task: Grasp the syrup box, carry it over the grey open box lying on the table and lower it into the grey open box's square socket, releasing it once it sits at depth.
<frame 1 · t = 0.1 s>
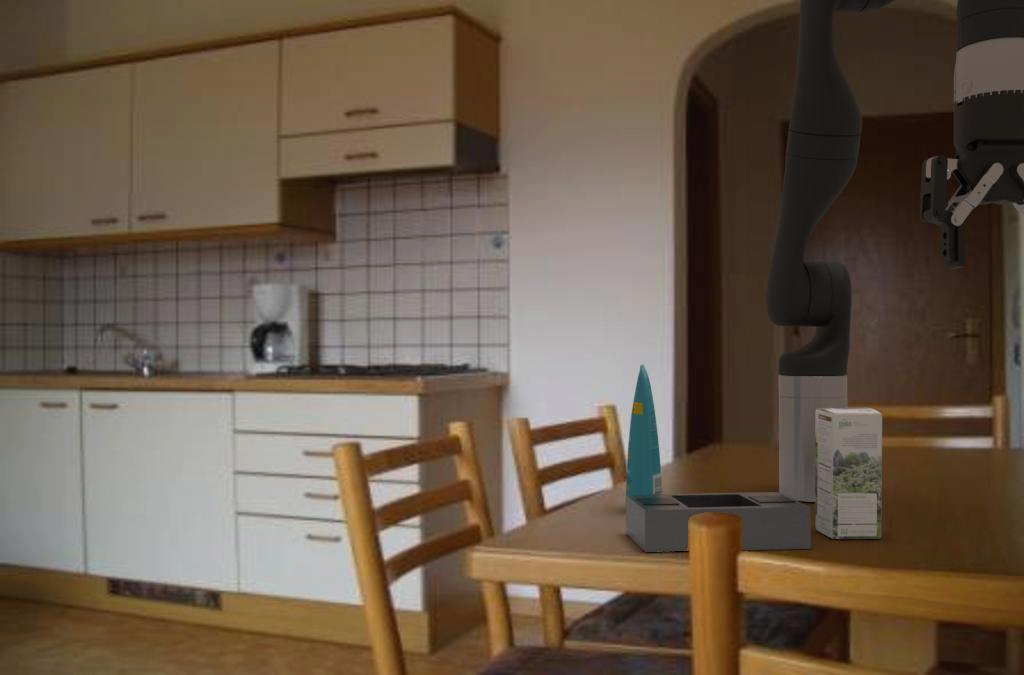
hand: (998, 267, 92), 29 cm above the table, fingers open, 8 cm apart
syrup box: (848, 536, 111), on the table
tube: (643, 513, 127), on the table
grey open box: (714, 541, 108), on the table
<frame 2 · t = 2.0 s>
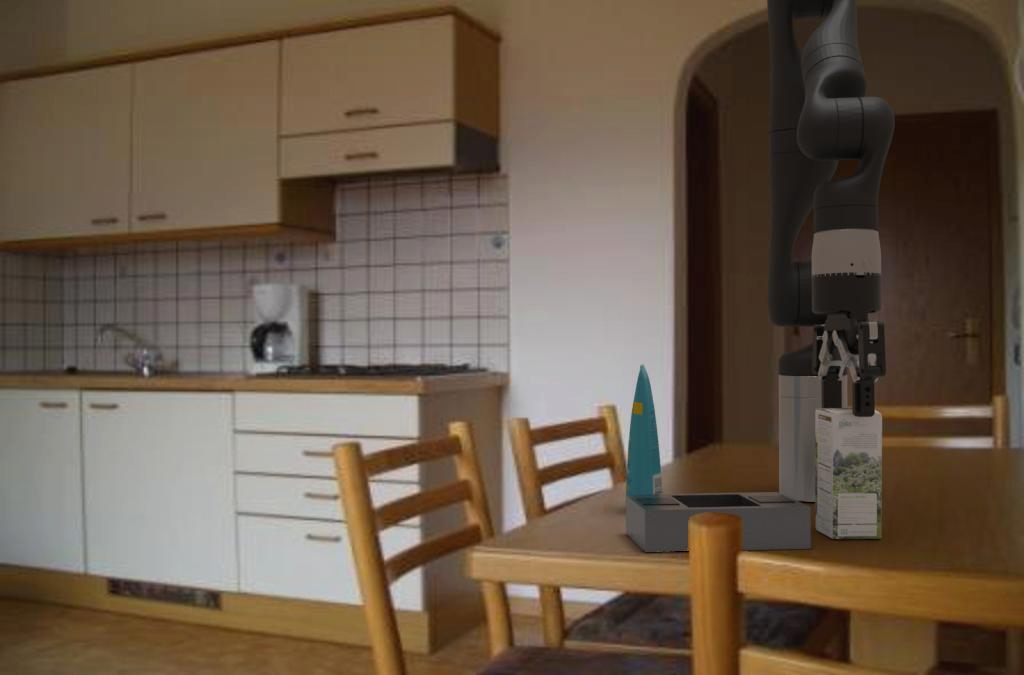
hand: (847, 414, 111), 14 cm above the table, fingers open, 8 cm apart
nothing on the table moved.
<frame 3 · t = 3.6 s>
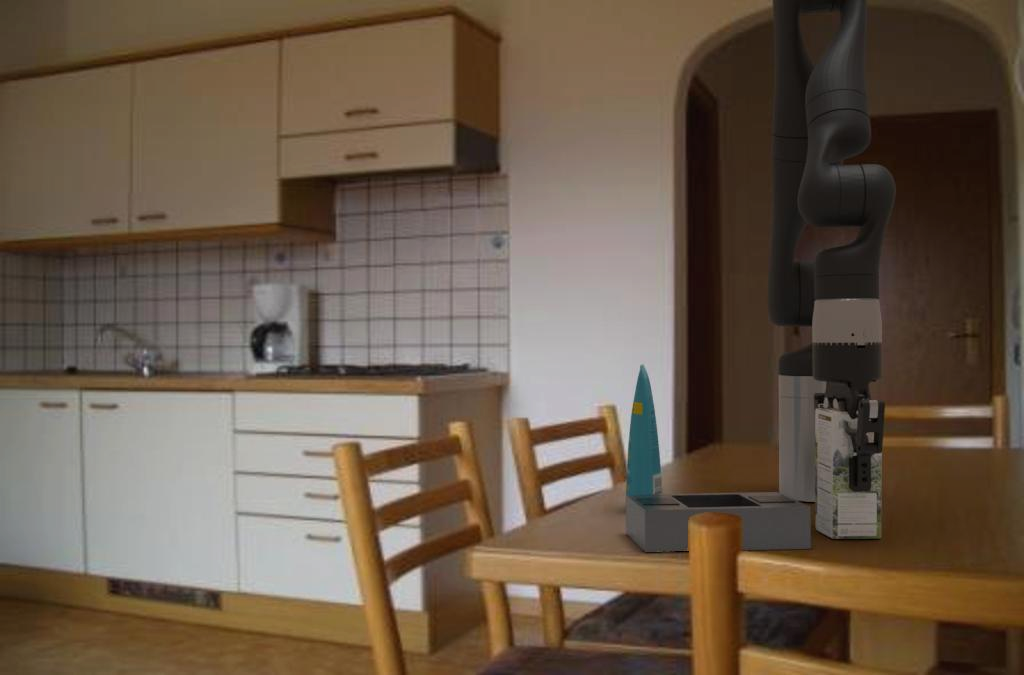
hand: (847, 486, 111), 6 cm above the table, fingers closed on syrup box, 6 cm apart
syrup box: (847, 536, 111), on the table, touching gripper
everything else where it was.
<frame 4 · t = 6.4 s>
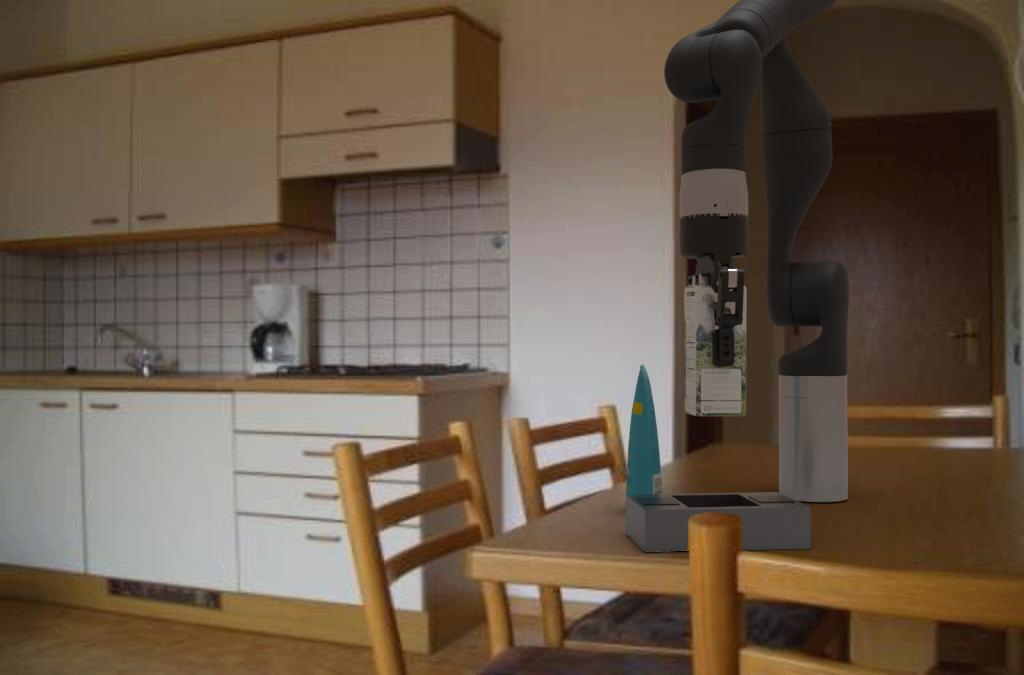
hand: (714, 364, 109), 20 cm above the table, fingers closed on syrup box, 6 cm apart
syrup box: (715, 416, 109), point 14 cm above the table, touching gripper
everything else where it was.
when the fingers open (7 cm above the table, at t = 9.0 s): syrup box drops 1 cm, resting in grey open box.
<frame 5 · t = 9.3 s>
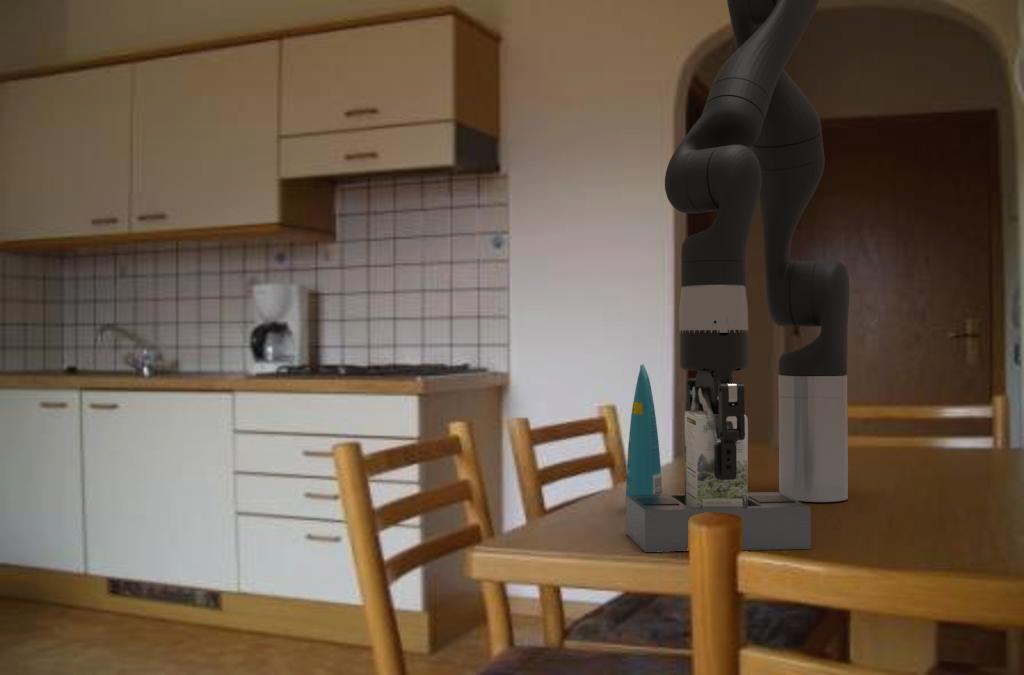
hand: (714, 473, 108), 8 cm above the table, fingers open, 8 cm apart
syrup box: (716, 542, 108), resting in grey open box
everything else where it was.
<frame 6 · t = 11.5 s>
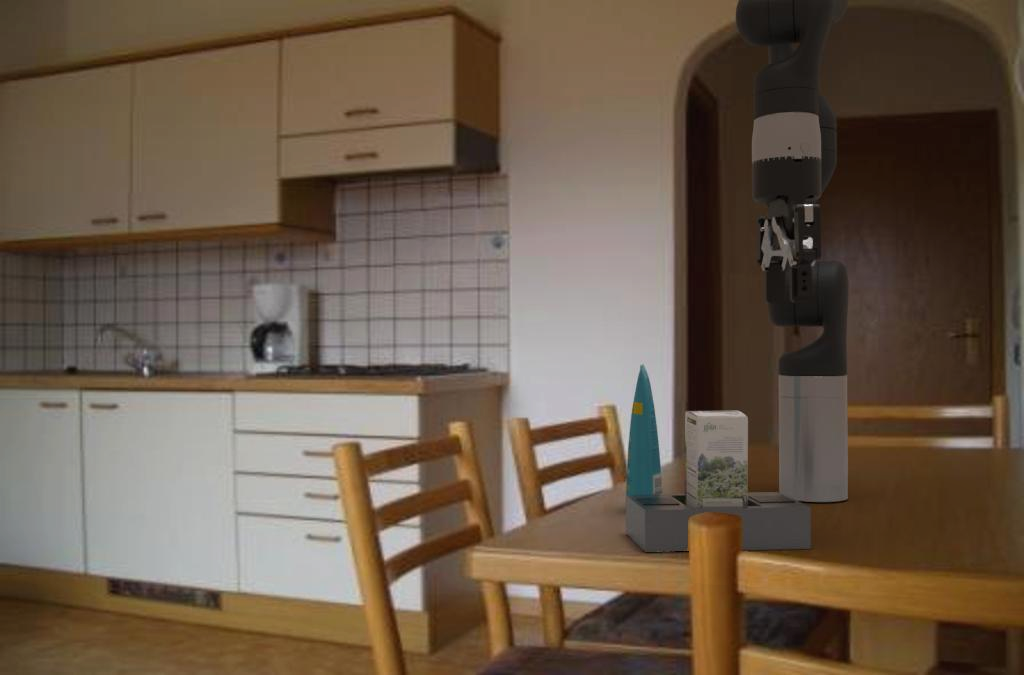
hand: (787, 302, 110), 27 cm above the table, fingers open, 8 cm apart
nothing on the table moved.
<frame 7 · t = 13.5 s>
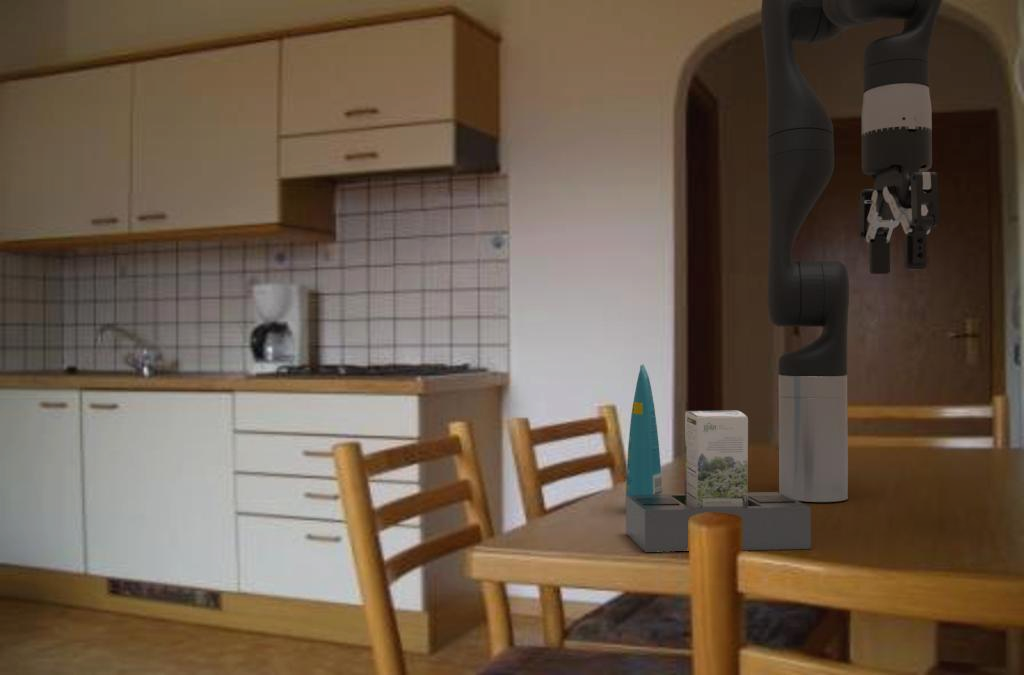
hand: (896, 271, 112), 30 cm above the table, fingers open, 8 cm apart
nothing on the table moved.
at the end: syrup box 0.1 cm off-centre on the grey open box, point 0.0 cm above the grey open box's base; syrup box tilted 0°; the gripper is holding nothing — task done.
